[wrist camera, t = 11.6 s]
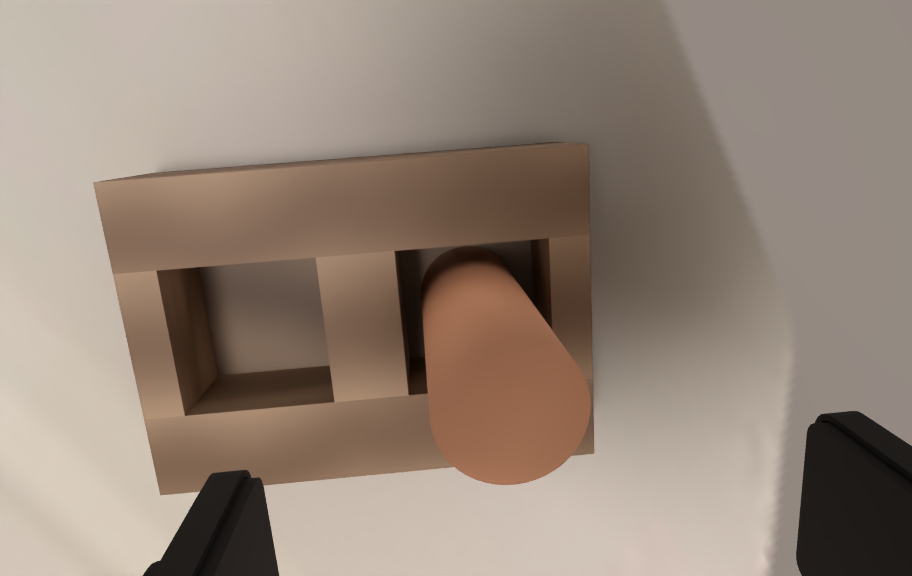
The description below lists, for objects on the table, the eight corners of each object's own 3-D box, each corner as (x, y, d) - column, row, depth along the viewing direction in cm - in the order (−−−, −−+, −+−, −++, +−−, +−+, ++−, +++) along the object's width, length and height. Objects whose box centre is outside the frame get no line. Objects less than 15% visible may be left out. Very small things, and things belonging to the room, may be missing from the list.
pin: (416, 251, 26) (421, 344, 15) (509, 241, 27) (587, 325, 15) (425, 340, 27) (437, 493, 16) (515, 330, 28) (593, 475, 16)
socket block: (153, 172, 26) (93, 182, 21) (557, 142, 27) (588, 144, 22) (203, 434, 29) (160, 495, 24) (565, 400, 30) (594, 453, 25)
